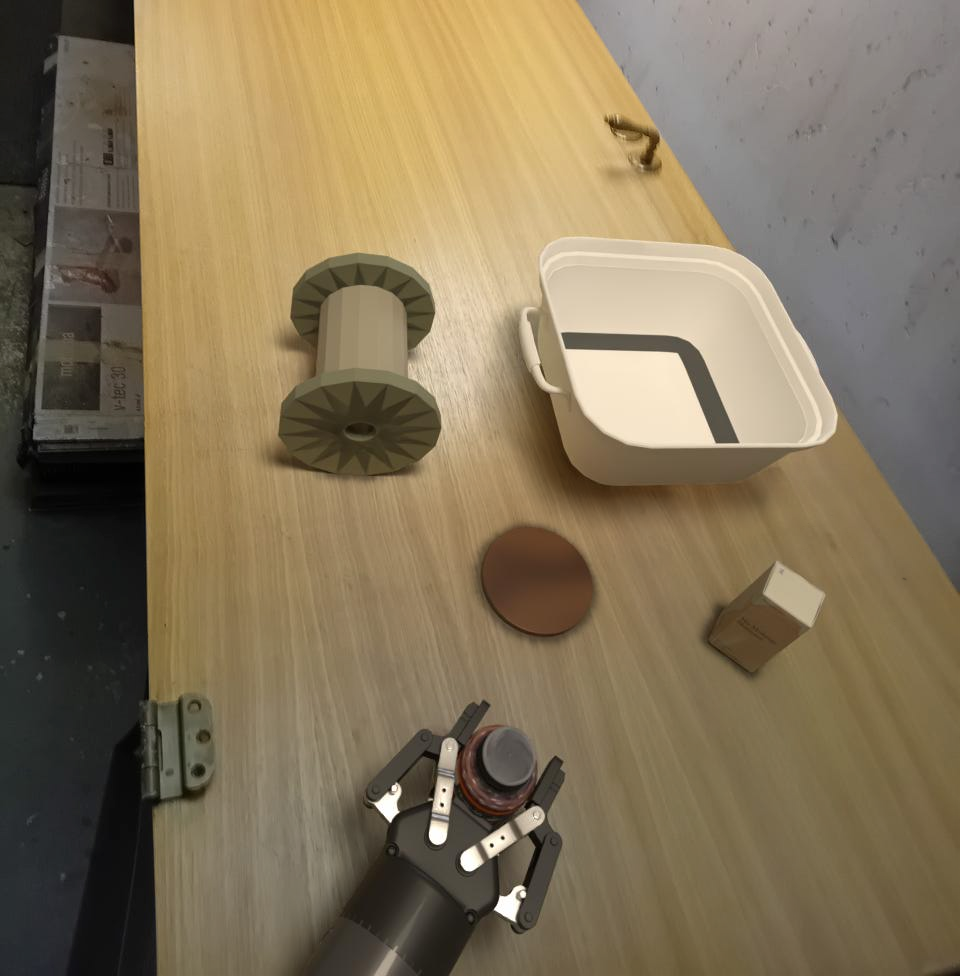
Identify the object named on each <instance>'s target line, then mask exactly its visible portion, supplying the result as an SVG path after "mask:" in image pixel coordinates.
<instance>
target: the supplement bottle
mask: <svg viewBox="0 0 960 976" xmlns="http://www.w3.org/2000/svg"><path fill="white" fill-rule="evenodd" d="M538 765H539V764H538V758H537V754H536V750H535V746H534V743H533V742H532V740H531V738H530V737H529V736H528V734H526V733H525V732H524V731H523V730H521V729H520V728H517V727H515V726H512V725H511V726H510V725H505V724H489V725H486V726H482V727H481V728H479V729H477V730H475V731H474V732H473V734H472V735H471V737H470V738H469V740H468V742H467V743H466V745H465V746H464V748H463V749H462V751H461V752H460V754H459V755H458V754H457V760H456V767H455V781H454V788H453V795H452V798H455V797H457V798H458V799H460V800H461V801H462V802H463V803H465V805H466V806H467V807H468V809H469V810H470V811H471V813H472V814H474V815H476V816H478V817H480V818H483V819H484V820H486V821H487V822H488V823H489V824H491V825H492V826H493V827H492V830H493V832H494V831H496V830H497V829H499V828H500V827H502V826H503V825H504V823H506V821H507V820H509V819H510V818H511V817H512V816H513V815H514V814H515V813H516V812H517V811H519V809H520V808H521V807H523V806H524V805H525V804H526V802H527V800H528V798H529V797H530V795H531V793H532V792H533V790H534V788H535V786H536V784H537V782H538V775H539V768H538Z"/></svg>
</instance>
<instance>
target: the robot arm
mask: <svg viewBox="0 0 960 976" xmlns="http://www.w3.org/2000/svg"><path fill="white" fill-rule="evenodd" d="M490 707H491V704H490V703H489V702H488V701H486V700H485V699H482V701H480V703H479V704H477V703H476V702H475V701H472V702H471V703H468V705H467V706H466V707H465V708H464V710H463V711H462V713H461V715H460V716H459V718H458V719H457V721H456V722H455V724H454V725H453V726H452V728H451V730H450V732H449V733H447V734H446V735H444V736H440V735H437V734H433V732H432V731H431V730H429V729H428V728H422V729H419V730H418V732H416V733H415V734H414V735H413V737H412V738H411V739H410V740H409V741H408V742H407V743H406V744H405V745H404V746H403V747H402V748H401V749H400V750H399V752H397V754H396V755H395V756H394V757H393V758H392V759H391V760H390V761H389V762H388V763H387V764H386V765H385V766H384V767H383V768H382V769H381V770H380V771H379V773H377V775H376V776H375V777H374V778H373V779H372V780H371V781H370V782H369V783H368V785H367V787H366V788H365V791H364V793H363V795H362V799H361V801H362V804H363V806H364V807H365V808H366V809H368V810H374V812H376V814H377V816H379V817H380V818H381V820H382V821H383V822H384V823H385V824H386V826H388V827H387V831H386V837H385V842H384V844H383V847H382V848H381V850H380V851H379V853H378V854H377V856H376V857H375V859H374V861H373V862H372V863H371V864H370V867H369V868H368V870H367V871H366V872H365V874H364V875H363V877H362V879H361V881H360V882H359V883H358V885H357V887H355V889H354V891H353V892H352V894H351V895H350V897H349V898H348V900H347V901H346V903H345V905H344V906H343V908H342V910H341V912H339V914H338V916H337V917H336V919H335V920H334V921H333V923H332V924H331V925H330V927H329V928H328V929H327V930H326V931H325V933H324V935H323V936H322V937H321V938H322V939H321V942H320V943H319V944H318V946H317V948H316V949H315V950H314V953H313V954H312V956H311V957H310V959H309V961H308V962H307V964H306V965H305V968H304V970H303V972H302V974H301V976H450V975H451V974H452V972H453V970H454V968H455V966H456V964H457V962H458V961H459V959H460V958H461V957H460V956H461V955H462V954H463V951H464V950H465V948H466V946H467V944H468V942H469V940H470V939H471V937H472V935H473V933H474V931H475V929H476V927H477V925H478V924H479V923H480V921H481V920H482V919H483V918H484V917H486V916H488V915H489V914H491V913H492V914H493V915H495V916H497V917H498V918H500V919H502V920H503V921H505V922H506V923H508V924H509V926H510V929H511V931H512V932H513V933H514V934H516V935H523V934H525V933H526V932H528V931H530V930H531V929H533V928H535V926H536V925H537V923H538V920H539V917H540V914H541V912H542V908H543V905H544V902H545V900H546V897H547V893H548V890H549V887H550V884H551V881H552V878H553V875H554V871H555V869H556V865H557V862H558V859H559V856H560V853H561V850H562V847H563V838H562V836H561V835H560V833H558V832H557V831H555V830H554V829H553V827H552V826H551V825H550V823H549V820H548V813H549V811H550V809H551V807H552V805H553V803H554V801H555V799H556V797H557V795H558V793H559V792H560V790H561V788H562V786H563V785H564V783H565V778H566V772H565V771H564V770H562V769H561V768H562V766H563V764H564V761H563V760H562V759H561V758H560V757H559V756H557V755H554V756H553V757H552V758H551V759H550V760H549V762H548V763H547V764H546V766H545V767H544V770H543V771H542V773H541V775H540V776H539V779H537V782H536V785H535V788H534V790H533V792H532V793H531V795H530V797H529V798H528V800H527V801H526V802H525V803H524V805H523V809H525V811H524V812H522V813H521V814H519V815H517V816H516V817H515V818H513V819H511V820H509V821H508V822H505V824H502V825H501V826H500V827H499V828H497V829H496V830H495V831H493V830H492V827H493V826H492V825H491V824H489V823H488V822H487V821H486V820H484V819H483V818H480V817H478V816H476V815H474V814H472V813H471V811H470V810H469V809H468V807H467V806H466V805H465V803H463V802H462V801H461V800H460V799H458V798H457V797H455V798H452V795H453V788H454V781H455V767H456V760H457V754H458V755H459V754H460V752H461V751H462V749H463V748H464V746H465V745H466V743H467V742H468V740H469V738H470V737H471V735H472V734H473V733H475V732H476V729H477V728H478V726H479V724H480V723H481V722H482V720H483V718H484V717H485V715H486V713H487V711H488V710H489V709H490ZM423 758H425V759H428V760H432V761H434V762H433V768H432V773H431V779H430V782H429V786H428V791H427V798H426V801H425V802H423V803H420V804H418V805H415V806H414V805H413V806H411V807H409V808H406V809H403V810H399V809H398V801H399V800H400V797H401V795H402V786H401V785H400V784H399V783H400V782H402V780H403V779H404V778H405V777H406V776H407V775H408V773H409V772H410V771H411V770H412V769H413V768H414V767H415V766H416V765H417V764H418V763H419V761H420V760H421V759H423ZM527 836H528V838H529V839H530V841H531V842H532V844H533V846H534V850H533V853H532V856H531V860H530V862H529V864H528V867H527V870H526V874H525V875H524V879H523V882H522V885H516V886H514V887H513V888H511V889H510V891H508V893H507V895H505V896H503V895H501V889H500V887H501V886H500V870H499V869H500V867H499V856H501V855H502V854H503V853H505V852H507V851H508V850H510V848H511V847H513V846H515V845H516V844H518V843H520V841H522V840H523V839H524V838H527Z"/></svg>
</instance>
